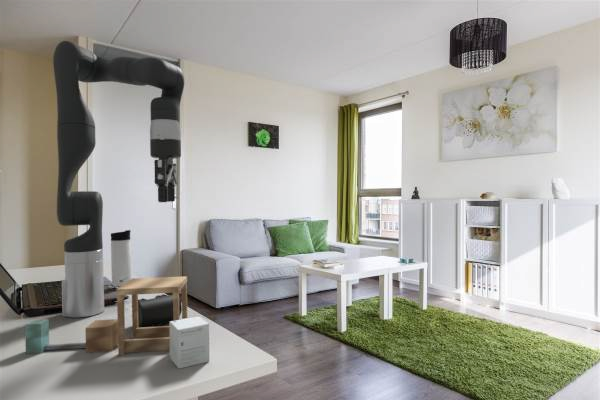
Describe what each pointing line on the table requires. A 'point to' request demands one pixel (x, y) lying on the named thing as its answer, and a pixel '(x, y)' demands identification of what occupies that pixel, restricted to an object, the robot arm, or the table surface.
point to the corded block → (97, 339)
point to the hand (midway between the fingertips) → (166, 201)
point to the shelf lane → (145, 335)
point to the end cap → (156, 310)
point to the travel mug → (121, 257)
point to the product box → (189, 341)
